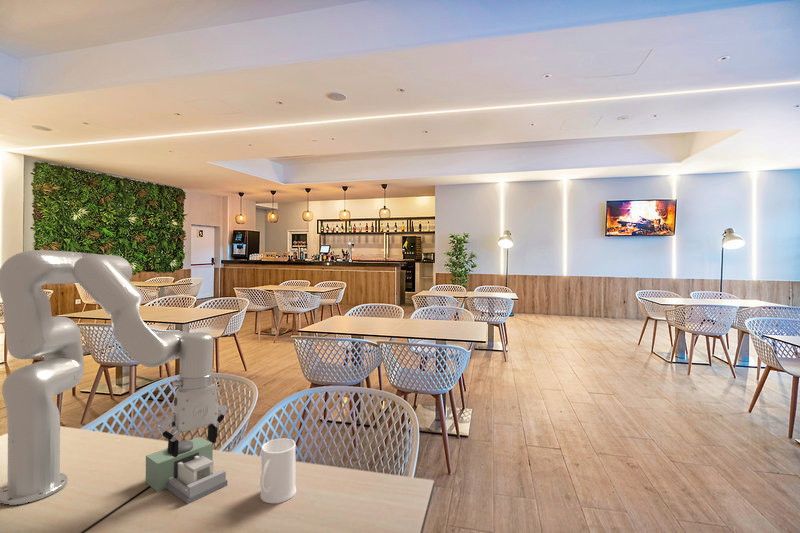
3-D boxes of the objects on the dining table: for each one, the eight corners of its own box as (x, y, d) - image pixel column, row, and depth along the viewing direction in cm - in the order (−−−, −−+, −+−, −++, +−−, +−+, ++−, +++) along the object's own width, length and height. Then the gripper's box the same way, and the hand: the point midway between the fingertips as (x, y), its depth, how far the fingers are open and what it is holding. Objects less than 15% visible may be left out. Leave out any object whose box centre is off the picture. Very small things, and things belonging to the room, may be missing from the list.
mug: (273, 515, 88) (274, 462, 88) (243, 507, 91) (243, 456, 91) (302, 487, 100) (303, 440, 100) (274, 481, 102) (274, 435, 102)
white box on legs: (213, 481, 100) (213, 461, 100) (193, 490, 96) (193, 469, 96) (197, 471, 104) (197, 452, 104) (177, 480, 100) (177, 460, 100)
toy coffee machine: (145, 482, 101) (145, 451, 101) (199, 460, 113) (199, 433, 113) (178, 508, 91) (179, 474, 91) (234, 481, 102) (234, 451, 102)
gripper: (166, 392, 91) (163, 466, 91) (235, 377, 105) (233, 440, 105) (152, 386, 95) (149, 456, 95) (220, 372, 109) (218, 433, 109)
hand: (193, 448), depth 100 cm, fingers open, 9 cm apart
